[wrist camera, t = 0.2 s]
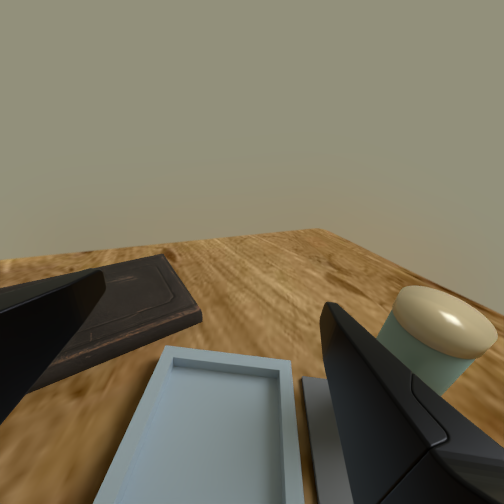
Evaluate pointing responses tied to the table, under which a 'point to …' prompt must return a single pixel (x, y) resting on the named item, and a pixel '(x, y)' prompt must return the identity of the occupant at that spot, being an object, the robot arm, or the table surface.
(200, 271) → the table surface
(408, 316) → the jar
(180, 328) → the hardcover book
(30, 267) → the table surface
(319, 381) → the mat
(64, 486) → the table surface
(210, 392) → the dish
